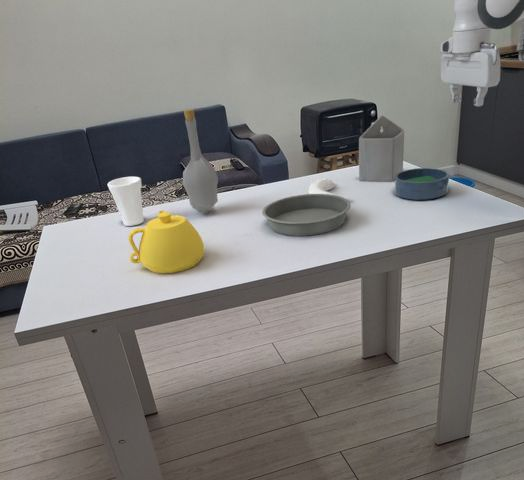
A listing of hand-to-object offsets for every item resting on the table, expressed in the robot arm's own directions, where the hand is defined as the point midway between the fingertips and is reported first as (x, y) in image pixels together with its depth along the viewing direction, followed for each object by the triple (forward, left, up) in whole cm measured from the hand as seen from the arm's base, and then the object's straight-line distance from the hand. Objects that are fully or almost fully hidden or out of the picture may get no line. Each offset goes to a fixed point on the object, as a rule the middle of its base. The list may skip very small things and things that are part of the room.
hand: (467, 104), depth 138 cm
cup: (+92, +30, -26) cm, 100 cm away
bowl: (+12, -8, -26) cm, 30 cm away
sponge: (+12, -8, -25) cm, 29 cm away
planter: (+26, -22, -26) cm, 43 cm away
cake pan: (+38, +21, -26) cm, 50 cm away
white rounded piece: (+38, -2, -26) cm, 46 cm away
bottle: (+73, +18, -26) cm, 79 cm away
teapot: (+64, +53, -26) cm, 87 cm away
